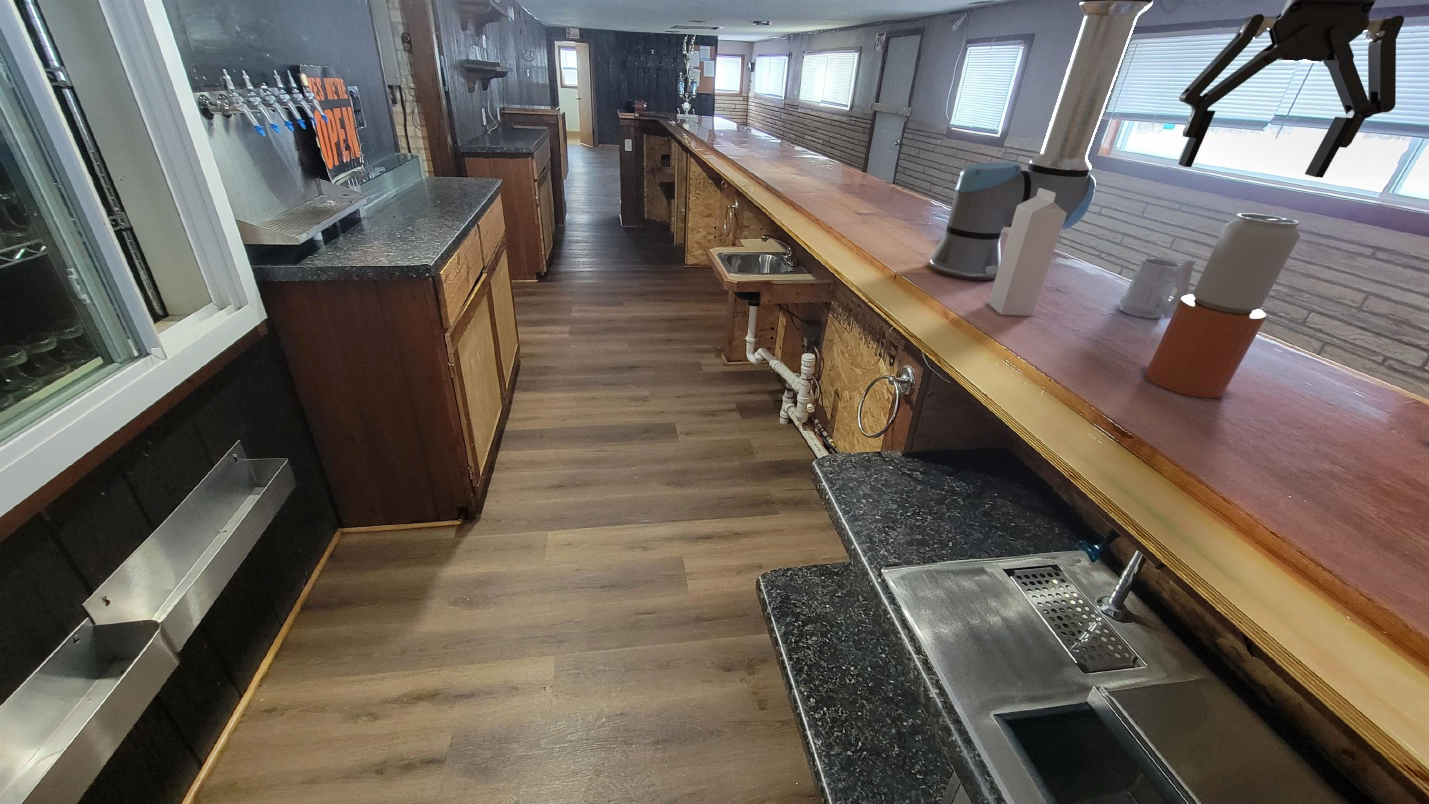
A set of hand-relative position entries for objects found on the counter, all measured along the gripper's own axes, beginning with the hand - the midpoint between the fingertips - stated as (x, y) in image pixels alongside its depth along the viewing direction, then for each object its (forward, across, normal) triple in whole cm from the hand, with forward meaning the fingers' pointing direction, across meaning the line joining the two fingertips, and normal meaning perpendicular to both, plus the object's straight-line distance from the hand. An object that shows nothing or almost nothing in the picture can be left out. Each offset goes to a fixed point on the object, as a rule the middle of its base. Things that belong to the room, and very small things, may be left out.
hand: (1246, 171), depth 72 cm
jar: (+29, +4, -2) cm, 29 cm away
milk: (+29, -19, +20) cm, 40 cm away
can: (+17, +4, -2) cm, 18 cm away
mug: (+29, +6, +30) cm, 42 cm away
